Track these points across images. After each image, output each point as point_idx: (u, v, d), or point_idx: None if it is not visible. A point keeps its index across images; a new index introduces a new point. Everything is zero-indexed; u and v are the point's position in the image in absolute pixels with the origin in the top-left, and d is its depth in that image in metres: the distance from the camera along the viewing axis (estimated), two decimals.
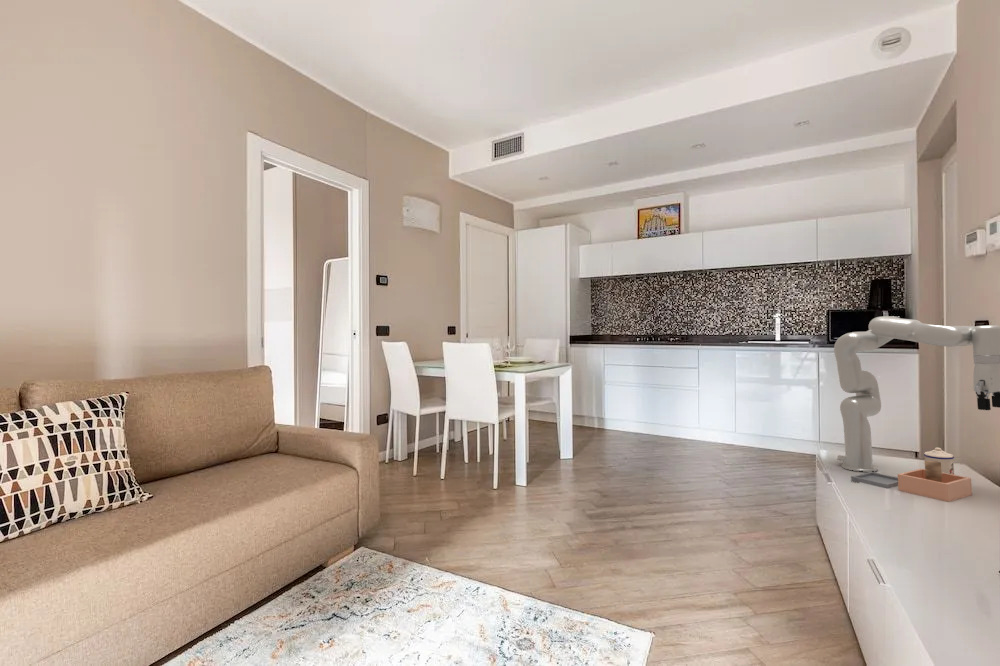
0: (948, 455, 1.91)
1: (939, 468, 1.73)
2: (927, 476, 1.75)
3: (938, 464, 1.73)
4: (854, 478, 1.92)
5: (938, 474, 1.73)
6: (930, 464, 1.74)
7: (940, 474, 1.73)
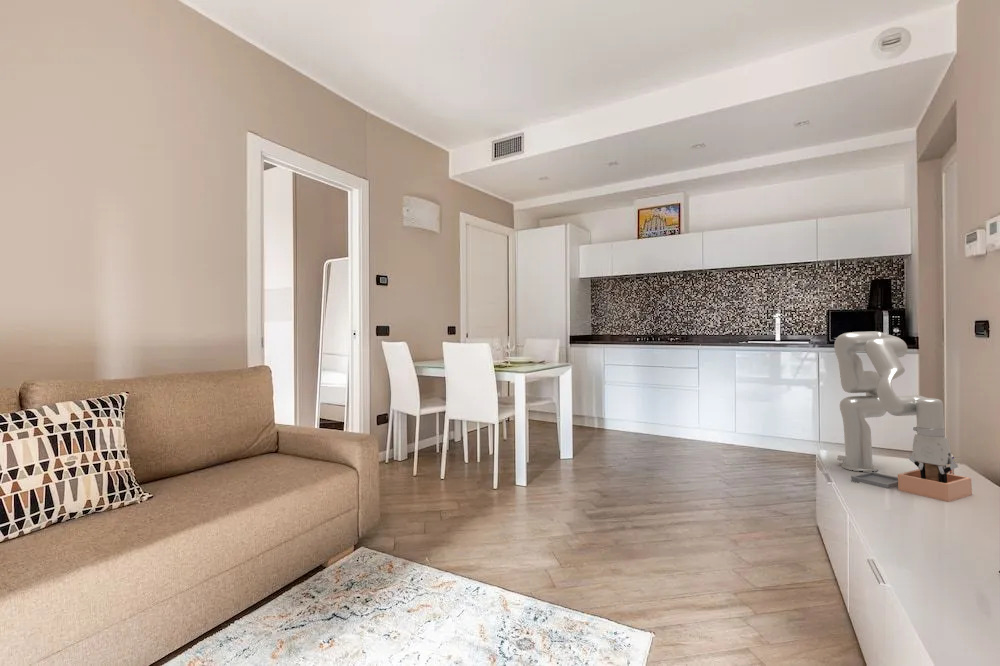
0: None
1: None
2: (927, 476, 1.75)
3: None
4: (854, 478, 1.92)
5: None
6: (930, 464, 1.74)
7: None
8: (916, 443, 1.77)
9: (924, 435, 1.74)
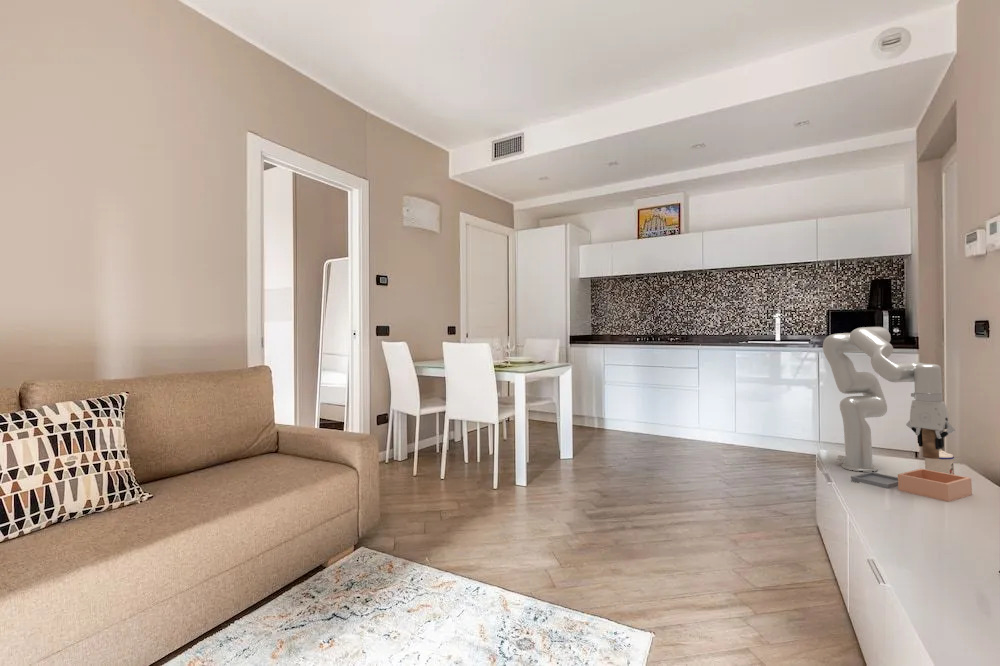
0: (948, 455, 1.91)
1: None
2: (924, 441, 1.76)
3: None
4: (854, 478, 1.92)
5: None
6: (927, 429, 1.75)
7: None
8: (914, 408, 1.78)
9: (922, 400, 1.74)
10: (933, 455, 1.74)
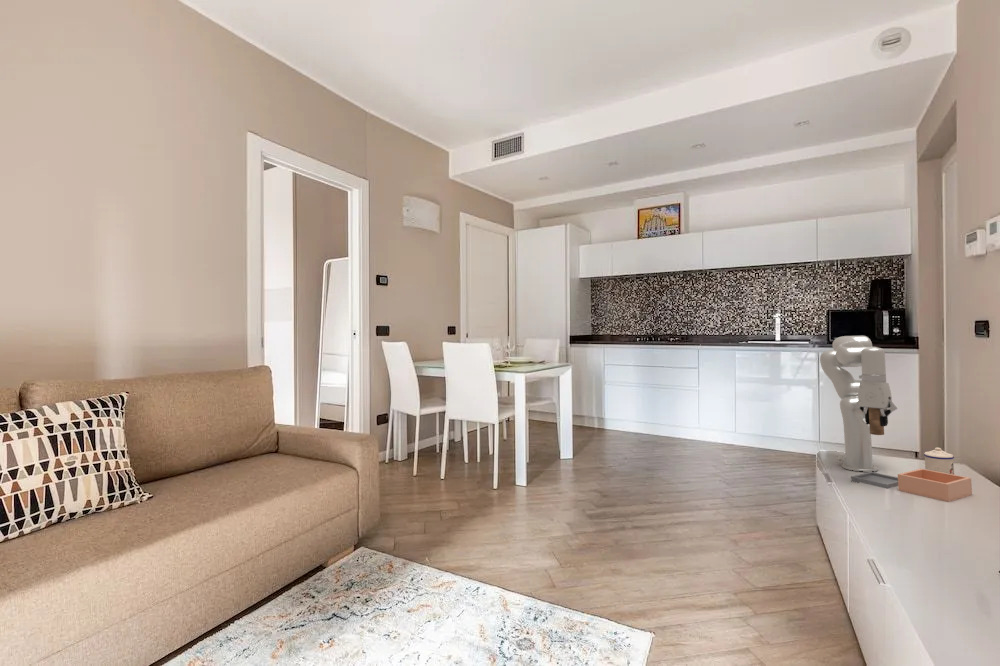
0: (948, 455, 1.91)
1: None
2: (870, 419, 1.90)
3: None
4: (854, 478, 1.92)
5: None
6: (873, 408, 1.89)
7: None
8: (861, 389, 1.92)
9: (867, 381, 1.89)
10: (878, 432, 1.88)
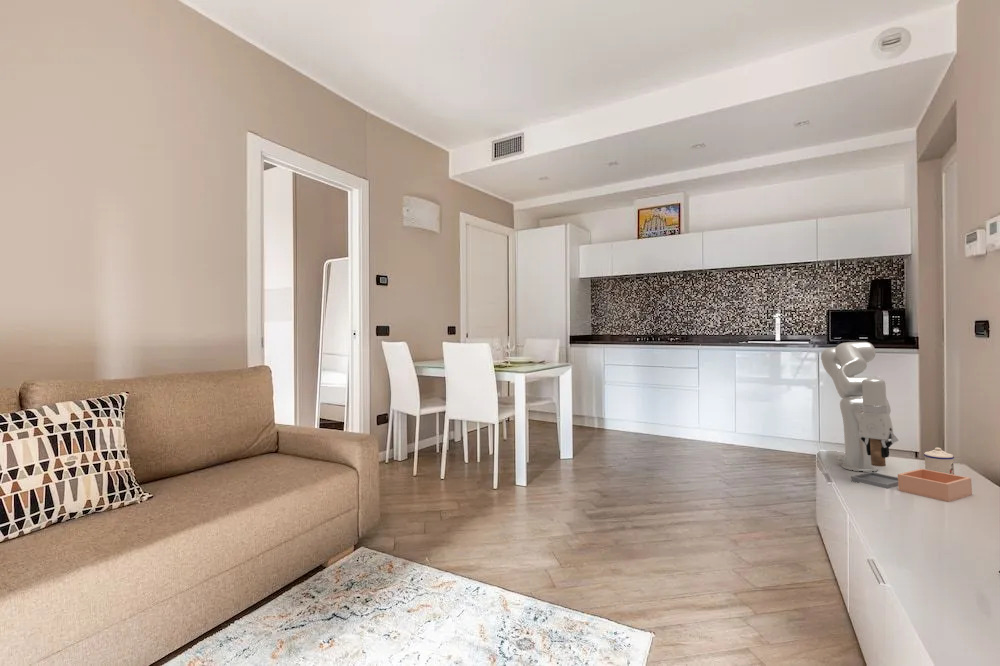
0: (948, 455, 1.91)
1: None
2: (871, 450, 1.90)
3: None
4: (854, 478, 1.92)
5: None
6: (874, 439, 1.89)
7: None
8: (862, 419, 1.92)
9: (868, 412, 1.89)
10: (879, 463, 1.88)
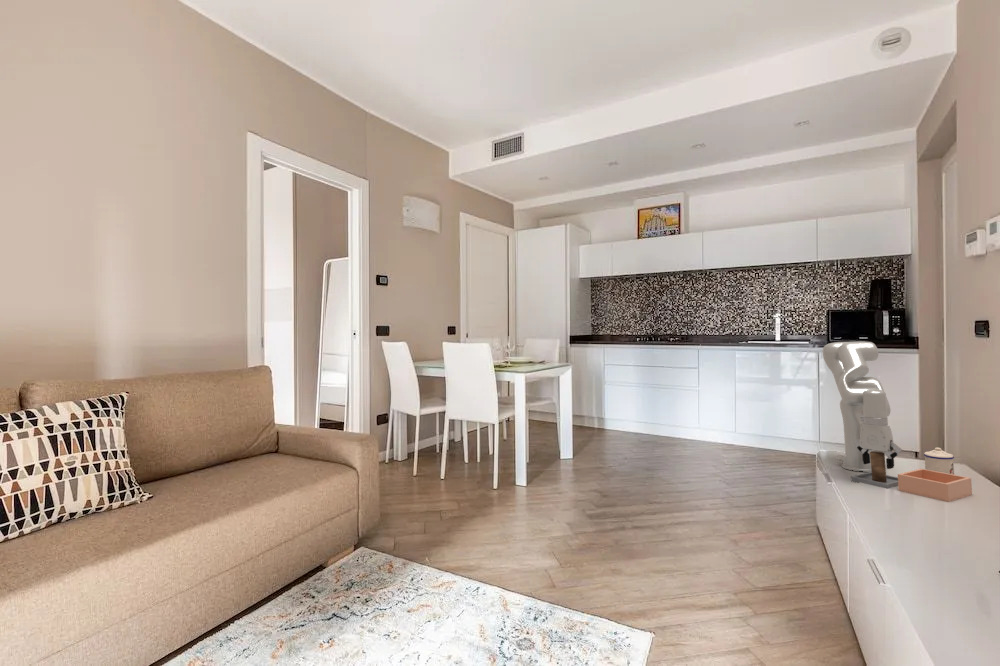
0: (948, 455, 1.91)
1: (882, 458, 1.88)
2: (872, 465, 1.90)
3: (881, 454, 1.88)
4: (854, 478, 1.92)
5: (882, 463, 1.88)
6: (874, 454, 1.89)
7: (883, 463, 1.88)
8: (863, 431, 1.92)
9: (869, 424, 1.89)
10: (880, 479, 1.88)
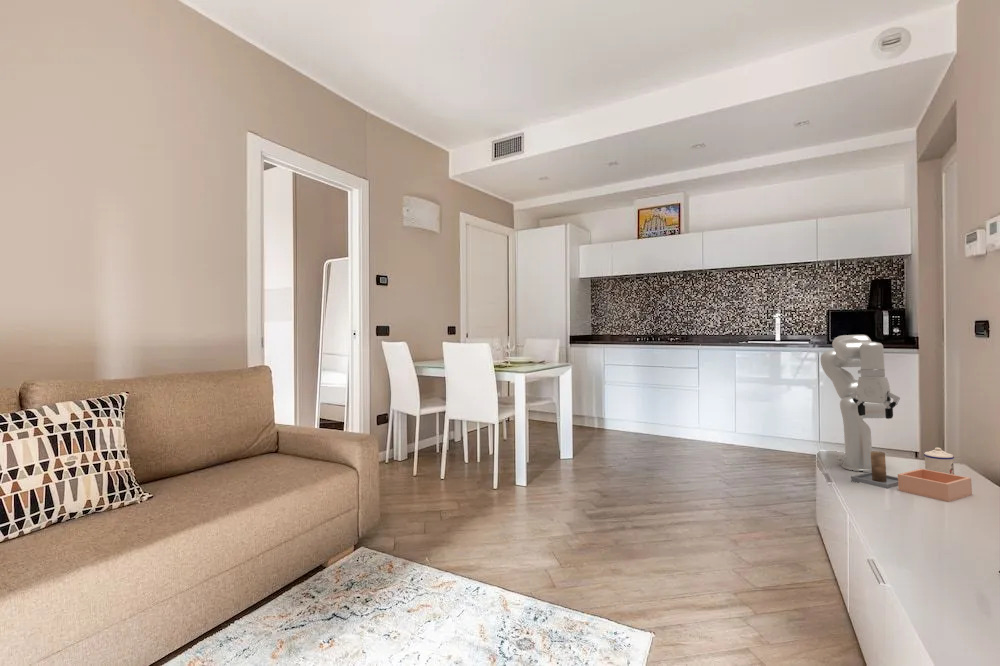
0: (948, 455, 1.91)
1: (883, 458, 1.88)
2: (872, 465, 1.90)
3: (882, 454, 1.88)
4: (854, 478, 1.92)
5: (882, 464, 1.88)
6: (875, 454, 1.89)
7: (884, 464, 1.88)
8: (860, 384, 1.93)
9: (866, 376, 1.89)
10: (880, 479, 1.88)
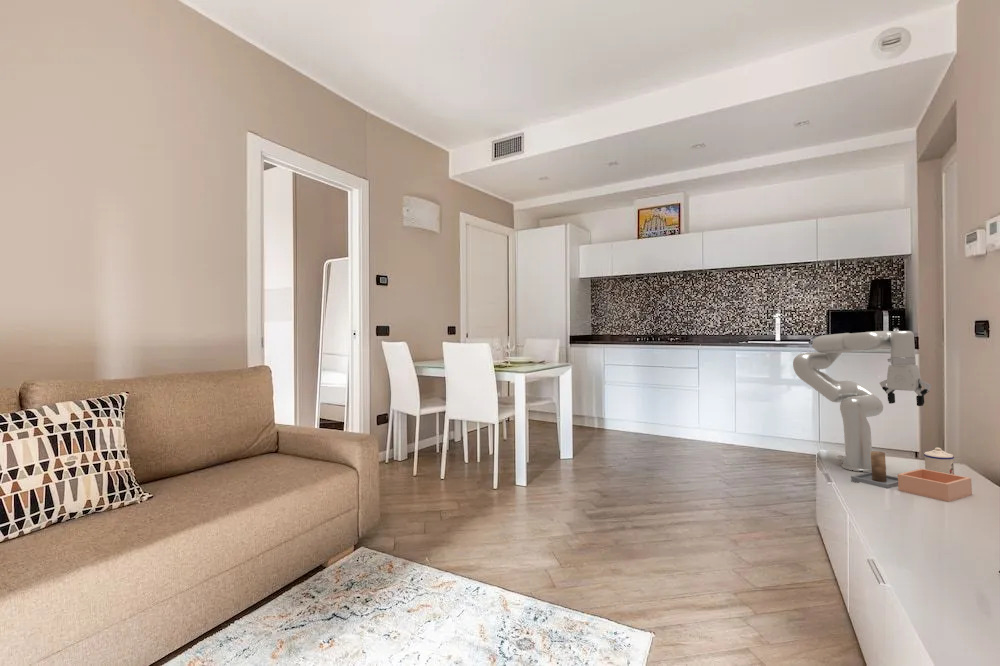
0: (948, 455, 1.91)
1: (883, 458, 1.88)
2: (872, 465, 1.90)
3: (882, 454, 1.88)
4: (854, 478, 1.92)
5: (882, 464, 1.88)
6: (875, 454, 1.89)
7: (884, 464, 1.88)
8: (890, 372, 1.94)
9: (897, 364, 1.91)
10: (880, 479, 1.88)
